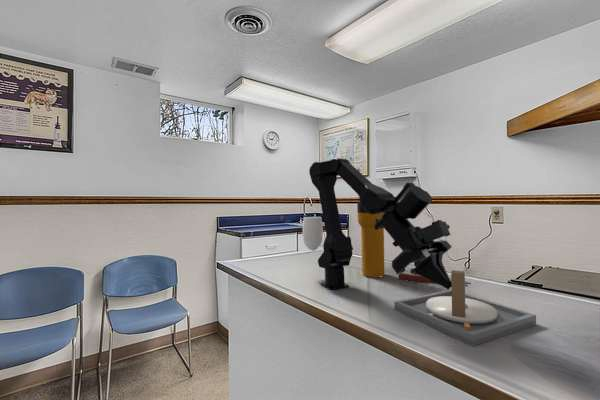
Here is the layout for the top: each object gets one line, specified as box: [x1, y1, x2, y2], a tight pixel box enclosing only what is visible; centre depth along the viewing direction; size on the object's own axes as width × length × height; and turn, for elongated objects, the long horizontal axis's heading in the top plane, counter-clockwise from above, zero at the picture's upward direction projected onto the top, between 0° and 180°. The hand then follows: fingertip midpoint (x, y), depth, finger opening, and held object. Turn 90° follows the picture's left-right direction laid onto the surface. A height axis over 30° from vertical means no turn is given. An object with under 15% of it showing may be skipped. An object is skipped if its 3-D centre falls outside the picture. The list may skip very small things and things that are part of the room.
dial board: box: [393, 288, 537, 347], centre depth 67 cm, size 20×20×2 cm
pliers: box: [398, 267, 472, 287], centre depth 95 cm, size 12×20×3 cm, turn 45°
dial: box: [426, 269, 497, 324], centre depth 67 cm, size 14×14×10 cm
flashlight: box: [356, 202, 385, 278], centre depth 104 cm, size 10×26×10 cm
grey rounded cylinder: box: [302, 216, 324, 251], centre depth 105 cm, size 7×7×21 cm
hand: (450, 287), depth 63 cm, fingers closed
